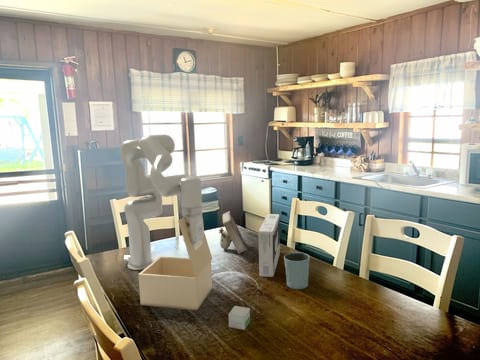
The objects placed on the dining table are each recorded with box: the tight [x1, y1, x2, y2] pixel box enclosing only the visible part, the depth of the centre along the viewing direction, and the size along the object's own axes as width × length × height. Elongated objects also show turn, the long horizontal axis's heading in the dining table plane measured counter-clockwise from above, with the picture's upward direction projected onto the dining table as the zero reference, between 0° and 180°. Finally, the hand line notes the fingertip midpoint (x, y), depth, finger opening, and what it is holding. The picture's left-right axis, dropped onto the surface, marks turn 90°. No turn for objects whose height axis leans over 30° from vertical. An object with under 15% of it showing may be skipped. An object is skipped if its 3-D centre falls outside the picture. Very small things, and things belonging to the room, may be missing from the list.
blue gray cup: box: [283, 251, 311, 290], centre depth 148 cm, size 10×10×12 cm
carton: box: [137, 256, 213, 311], centre depth 141 cm, size 22×18×12 cm
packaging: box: [257, 213, 281, 278], centre depth 171 cm, size 30×6×20 cm, turn 168°
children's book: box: [218, 210, 248, 255], centre depth 192 cm, size 20×12×20 cm, turn 6°
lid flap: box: [177, 216, 213, 278], centre depth 136 cm, size 21×18×1 cm
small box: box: [228, 305, 251, 331], centre depth 121 cm, size 6×6×5 cm
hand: (194, 258), depth 138 cm, fingers closed
